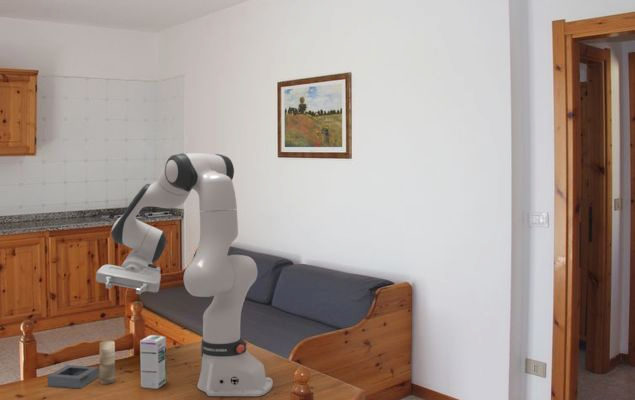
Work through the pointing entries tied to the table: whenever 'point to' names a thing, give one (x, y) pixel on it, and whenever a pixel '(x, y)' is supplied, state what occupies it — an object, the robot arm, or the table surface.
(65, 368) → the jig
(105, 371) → the peg
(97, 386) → the table surface
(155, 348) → the syrup box
